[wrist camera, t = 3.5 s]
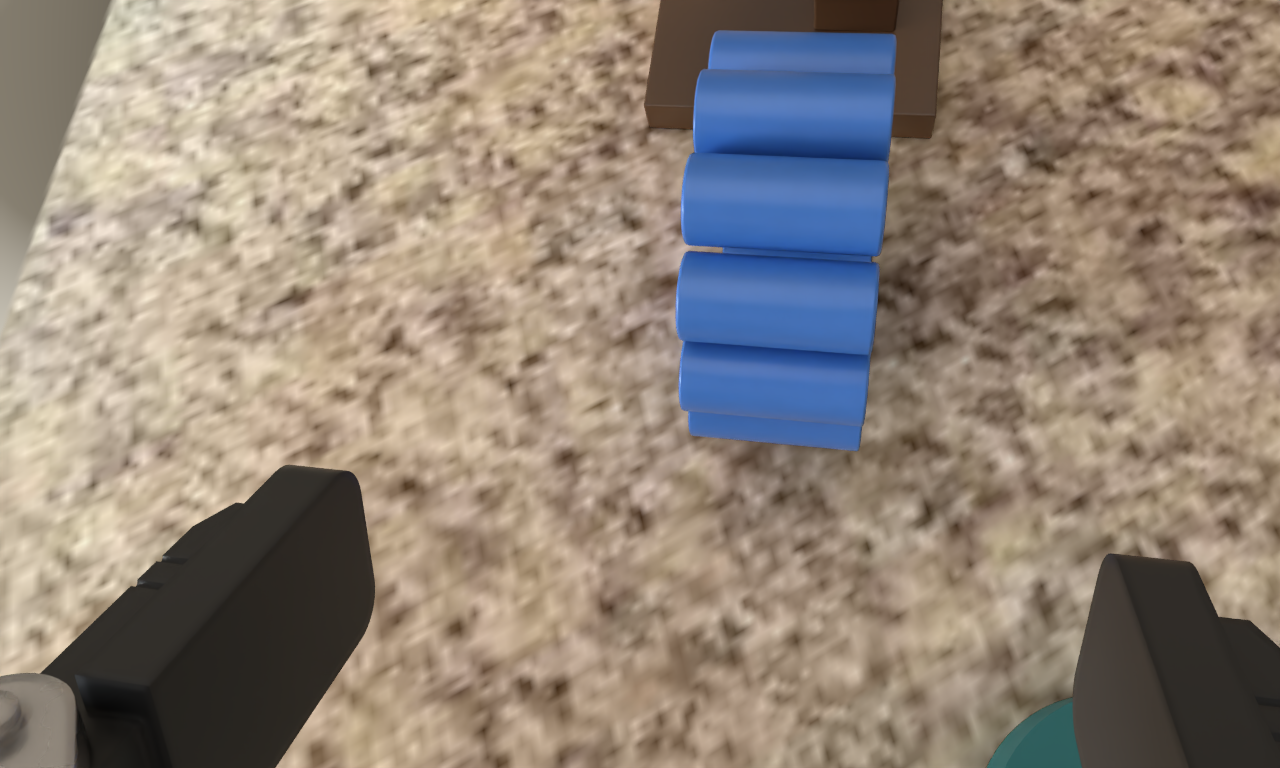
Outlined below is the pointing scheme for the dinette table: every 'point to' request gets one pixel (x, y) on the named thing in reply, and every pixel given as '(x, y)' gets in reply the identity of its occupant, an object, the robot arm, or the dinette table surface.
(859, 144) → the blue ribbed cylinder bundle
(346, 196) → the dinette table surface
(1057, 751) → the bracket
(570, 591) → the dinette table surface
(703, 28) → the tape stand
